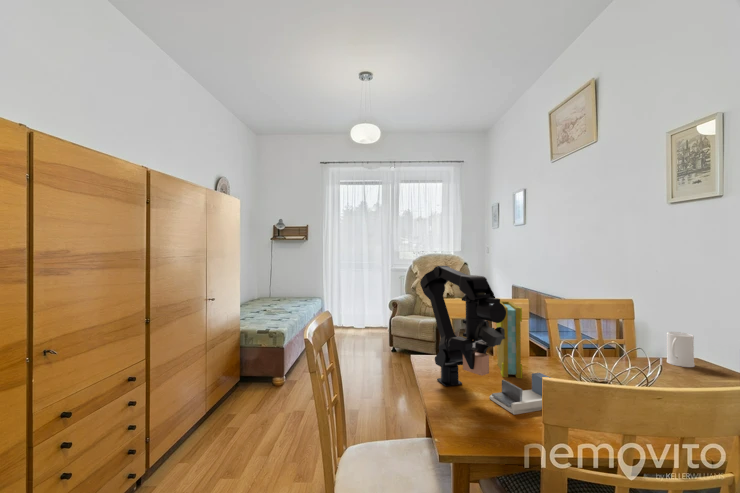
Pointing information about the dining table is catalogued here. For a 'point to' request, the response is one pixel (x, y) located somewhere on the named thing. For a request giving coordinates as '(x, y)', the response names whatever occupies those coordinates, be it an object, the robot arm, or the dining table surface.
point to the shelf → (527, 397)
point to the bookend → (509, 393)
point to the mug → (680, 349)
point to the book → (510, 341)
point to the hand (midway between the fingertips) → (475, 367)
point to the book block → (478, 364)
